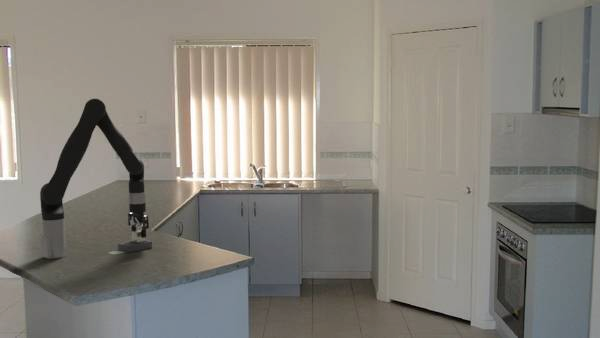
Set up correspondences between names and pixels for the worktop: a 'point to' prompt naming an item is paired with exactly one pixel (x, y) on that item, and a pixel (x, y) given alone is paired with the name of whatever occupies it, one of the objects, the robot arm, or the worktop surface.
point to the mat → (116, 252)
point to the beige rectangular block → (137, 237)
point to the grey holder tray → (134, 246)
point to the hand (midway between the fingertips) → (138, 236)
